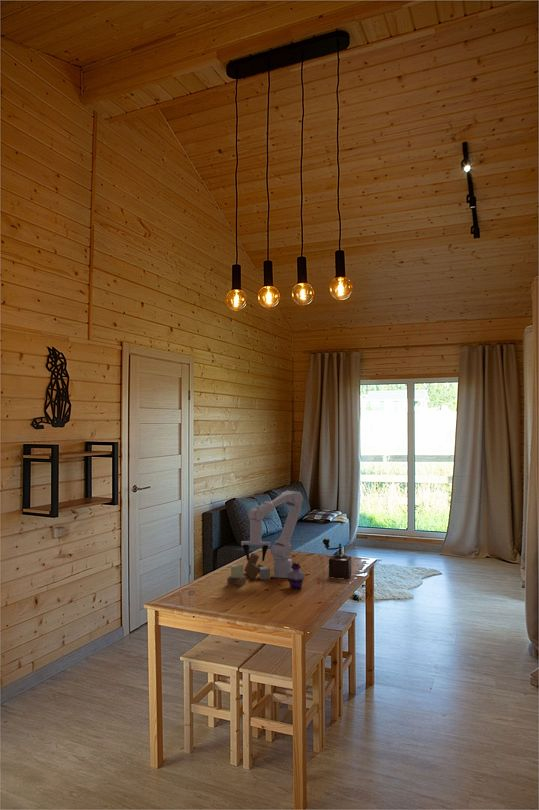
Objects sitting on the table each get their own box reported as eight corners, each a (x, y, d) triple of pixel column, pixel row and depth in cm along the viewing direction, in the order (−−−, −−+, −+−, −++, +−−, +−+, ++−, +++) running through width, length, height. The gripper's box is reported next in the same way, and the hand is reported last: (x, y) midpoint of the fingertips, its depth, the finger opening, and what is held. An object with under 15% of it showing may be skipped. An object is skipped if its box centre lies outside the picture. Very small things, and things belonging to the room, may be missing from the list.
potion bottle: (286, 585, 261) (286, 560, 262) (304, 585, 261) (304, 560, 262) (287, 590, 252) (287, 564, 253) (305, 590, 252) (305, 564, 253)
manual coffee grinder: (352, 574, 282) (352, 539, 283) (348, 579, 272) (348, 543, 273) (323, 571, 287) (323, 537, 288) (318, 576, 277) (318, 541, 278)
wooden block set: (256, 584, 271) (265, 565, 271) (241, 577, 272) (249, 558, 272) (260, 573, 289) (267, 556, 289) (245, 566, 290) (253, 549, 290)
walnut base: (245, 583, 264) (246, 575, 264) (240, 587, 258) (241, 579, 258) (232, 582, 266) (232, 574, 267) (227, 586, 260) (227, 578, 260)
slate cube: (269, 576, 277) (269, 566, 277) (270, 579, 272) (270, 569, 272) (259, 576, 277) (260, 566, 277) (260, 579, 272) (260, 569, 272)
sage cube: (243, 575, 265) (243, 564, 265) (241, 578, 260) (241, 567, 260) (233, 574, 265) (233, 564, 266) (231, 577, 260) (231, 567, 261)
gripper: (240, 533, 266) (239, 561, 266) (268, 534, 264) (268, 562, 263) (242, 531, 273) (242, 558, 273) (271, 532, 271) (271, 559, 270)
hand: (255, 560), depth 268 cm, fingers open, 7 cm apart
